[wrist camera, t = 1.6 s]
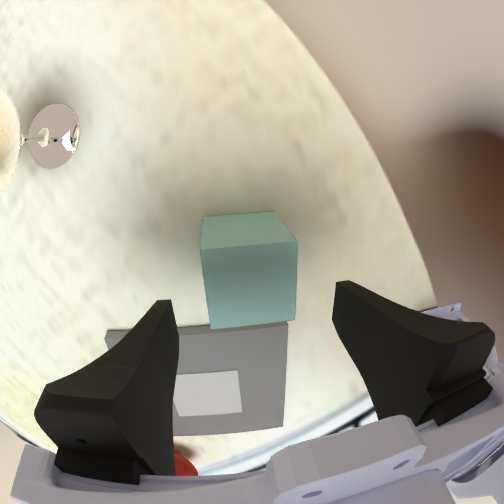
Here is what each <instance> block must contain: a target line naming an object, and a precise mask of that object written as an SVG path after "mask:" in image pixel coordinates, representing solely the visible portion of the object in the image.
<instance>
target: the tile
mask: <svg viewBox="0 0 504 504" xmlns="http://www.w3.org/2000/svg"><path fill="white" fill-rule="evenodd" d="M177 330H178V334H179V360H178V367H177V375H176V382H175V389H174V396H173V436H197V435H215V434H228V433H239V432H248V431H256V430H264V429H270V428H277V427H283V417H284V401H285V383H286V363H287V339H288V324H287V321H282V322H274V323H266V324H258V325H249V326H240V327H230V328H219V329H211V327H210V325H208V326H195V327H182V328H177ZM129 331H130V330H120V331H107V333H106V336H105V338H104V339H105V342H106V344H107V347H108V349H109V350H110V349H111V348H112V347H113V346H115V345H116V344H117V343H118V342H119V341H120V340H121V339H122V338H123V337H124V336H125V335H126V334H127V333H128V332H129Z"/></svg>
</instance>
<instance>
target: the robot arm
mask: <svg viewBox="0 0 504 504" xmlns="http://www.w3.org/2000/svg"><path fill="white" fill-rule="evenodd" d="M460 308H461V303H459V302H455V303H452V304H448V305H445V306H441V307H438V308H434V309H431V310H427V311H423V312H418V311H415V310H412V309H409V308H407V307H404V306H402V305H399V304H397V303H395V302H393V301H390V300H388V299H386V298H384V297H382V296H380V295H378V294H376V293H374V292H372V291H370V290H368V289H366V288H364V287H362V286H360V285H358V284H356V283H354V282H352V281H349V280H347V281H340V282H336V289H335V298H334V307H333V315H332V321H333V323H334V326H335V329H336V331H337V333H338V336H339V338H340V339H341V341H342V343H343V345H344V346H345V348H346V350H347V351H348V353H349V355H350V357H351V358H352V360H353V362H354V363H355V365H356V367H357V368H358V370H359V372H360V374H361V376H362V378H363V380H364V382H365V384H366V387H367V389H368V392H369V394H370V397H371V399H372V402H373V405H374V408H375V410H376V413H377V417H378V420H379V421H376V422H373V423H370V424H367V425H364V426H360V427H357V428H354V429H350V430H347V431H343V432H340V433H336V434H332V435H328V436H324V437H320V438H316V439H311V440H307V441H304V442H300V443H297V444H294V445H291V446H288V447H286V448H284V449H282V450H281V451H279V452H277V453H275V454H274V455H273V456H272V457H271V458H270V460H269V462H268V463H267V465H266V470H263V471H256V472H247V473H238V474H226V475H210V476H176V470H175V459H174V445H173V396H174V389H175V382H176V375H177V367H178V360H179V334H178V330H177V325H176V321H175V316H174V312H173V307H172V302H171V299H170V300H157V301H156V302H155V303H154V304H153V306H152V307H151V308H150V309H149V310H148V311H147V313H146V314H145V315H144V316H143V317H142V318H141V320H140V321H139V322H138V323H137V324H136V325H135V326H134V327H133V328H132V329H131V330H130V331H129V332H128V333H127V334H126V335H125V336H124V337H123V338H122V339H121V340H120V341H119V342H118V343H117V344H116V345H115V346H113V347H112V348H111V349H110V350H108V351H107V352H106V353H105V354H103V355H102V356H100V357H99V358H97V359H96V360H94V361H93V362H91V363H90V364H88V365H87V366H85V367H83V368H82V369H80V370H78V371H76V372H74V373H72V374H70V375H68V376H66V377H63V378H61V379H59V380H56V381H54V382H51V383H49V384H46V386H45V388H44V390H43V392H42V394H41V397H40V399H39V401H38V403H37V406H36V408H35V411H34V416H35V419H36V421H37V423H38V424H39V426H40V427H41V429H42V430H43V431H44V432H45V433H46V434H47V435H48V437H49V438H50V439H51V440H52V441H53V442H54V443H55V444H56V445H57V446H58V451H57V454H55V453H53V452H51V451H49V450H46V449H43V448H39V447H35V446H32V445H28V444H26V445H25V448H24V450H23V453H22V456H21V460H20V463H19V466H18V469H17V472H16V476H15V480H14V483H13V487H12V491H11V495H10V496H11V497H12V498H13V499H14V500H16V501H17V502H19V503H20V504H456V503H455V501H454V499H453V498H452V496H451V494H450V492H451V493H452V494H453V495H455V496H456V497H457V498H458V499H465V498H473V497H482V496H493V497H494V499H495V500H496V502H497V503H498V504H504V444H503V443H504V364H503V363H500V364H498V357H497V352H496V349H495V347H494V342H495V334H494V332H493V331H492V330H491V329H490V328H489V327H488V326H487V325H486V324H484V323H482V322H471V321H470V320H469V319H468V318H466V317H465V316H464V315H463V314H462V313H461V312H460ZM502 444H503V445H502ZM501 445H502V446H501ZM500 446H501V447H500ZM499 447H500V448H499ZM497 448H499V449H498V450H497V451H496V452H495V453H494V454H493V455H492V456H490V455H491V454H492V453H493V452H494V451H495V450H496V449H497ZM489 456H490V457H489ZM488 457H489V458H488ZM486 458H488V459H487V460H486V461H485V462H483V461H484V460H485V459H486ZM482 462H483V463H482ZM481 463H482V464H481ZM479 464H480V465H479ZM478 465H479V466H478ZM448 489H449V490H450V492H449V490H448Z"/></svg>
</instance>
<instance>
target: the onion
mask: <svg viewBox="0 0 504 504" xmlns="http://www.w3.org/2000/svg"><path fill="white" fill-rule="evenodd" d="M174 459H175V470H176V476H198V472H197V470H196V468H195V467H194V466H193V464H192V463H190V462H189V461H188V460H187V459H185V458H184V457H182V456H181V455H180V454H179V453H177V452H174Z"/></svg>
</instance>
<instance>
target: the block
mask: <svg viewBox="0 0 504 504" xmlns="http://www.w3.org/2000/svg"><path fill="white" fill-rule="evenodd" d="M297 246H298V241H297V240H296V238H295V237H294V236H293V234H292V233H291V232H290V231H289V229H288V228H287V227H286V226H285V224H284V223H283V222H282V221H281V219H280V218H279V217H278V216H277V214H276V213H275V212H274V211H270V212H256V213H243V214H230V215H219V216H207V217H203V223H202V233H201V245H200V253H201V261H202V269H203V277H204V285H205V292H206V300H207V307H208V314H209V320H210V327H211V329H219V328H230V327H240V326H249V325H258V324H266V323H274V322H282V321H290V320H295V311H296V285H297Z"/></svg>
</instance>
